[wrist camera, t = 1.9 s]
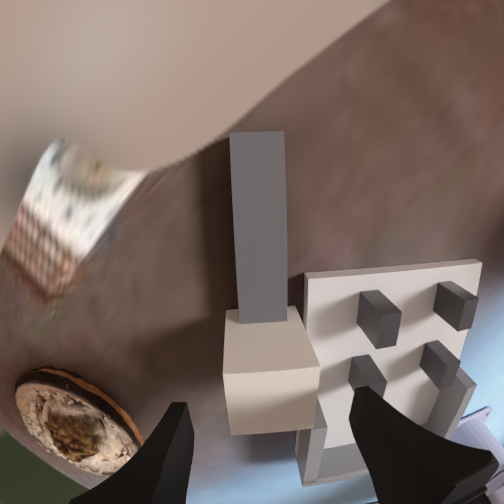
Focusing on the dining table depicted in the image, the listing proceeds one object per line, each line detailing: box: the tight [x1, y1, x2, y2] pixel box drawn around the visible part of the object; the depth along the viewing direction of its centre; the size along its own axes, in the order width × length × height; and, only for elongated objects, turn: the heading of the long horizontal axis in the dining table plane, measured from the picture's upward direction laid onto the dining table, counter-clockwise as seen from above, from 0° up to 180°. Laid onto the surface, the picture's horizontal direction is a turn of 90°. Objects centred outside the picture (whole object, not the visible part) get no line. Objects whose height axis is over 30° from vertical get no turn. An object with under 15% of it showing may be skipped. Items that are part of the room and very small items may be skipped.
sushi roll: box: [14, 366, 146, 477], centre depth 18 cm, size 15×15×4 cm
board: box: [295, 259, 482, 487], centre depth 17 cm, size 16×13×4 cm
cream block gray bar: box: [223, 131, 321, 435], centre depth 14 cm, size 14×4×6 cm, turn 2°
